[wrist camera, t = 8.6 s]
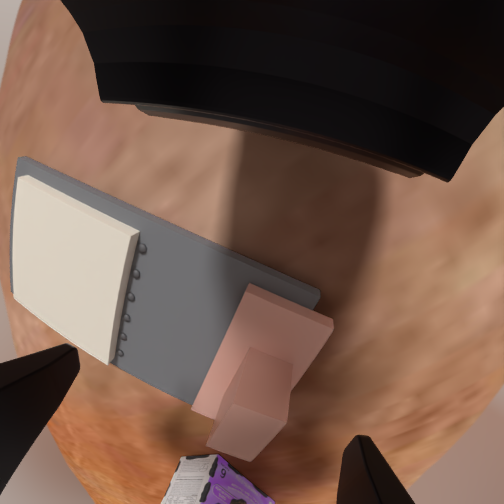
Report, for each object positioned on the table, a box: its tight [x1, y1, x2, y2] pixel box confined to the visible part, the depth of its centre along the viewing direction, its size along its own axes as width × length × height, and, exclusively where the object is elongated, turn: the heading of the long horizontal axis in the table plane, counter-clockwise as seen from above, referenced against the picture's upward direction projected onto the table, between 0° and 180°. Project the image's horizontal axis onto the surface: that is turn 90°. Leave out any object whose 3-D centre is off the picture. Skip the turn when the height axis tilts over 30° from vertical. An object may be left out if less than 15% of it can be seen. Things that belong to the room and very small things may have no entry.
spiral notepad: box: [12, 175, 147, 365], centre depth 20 cm, size 13×12×1 cm
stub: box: [191, 283, 334, 462], centre depth 17 cm, size 6×12×6 cm, turn 157°
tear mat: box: [10, 156, 321, 405], centre depth 21 cm, size 26×14×1 cm, turn 67°
